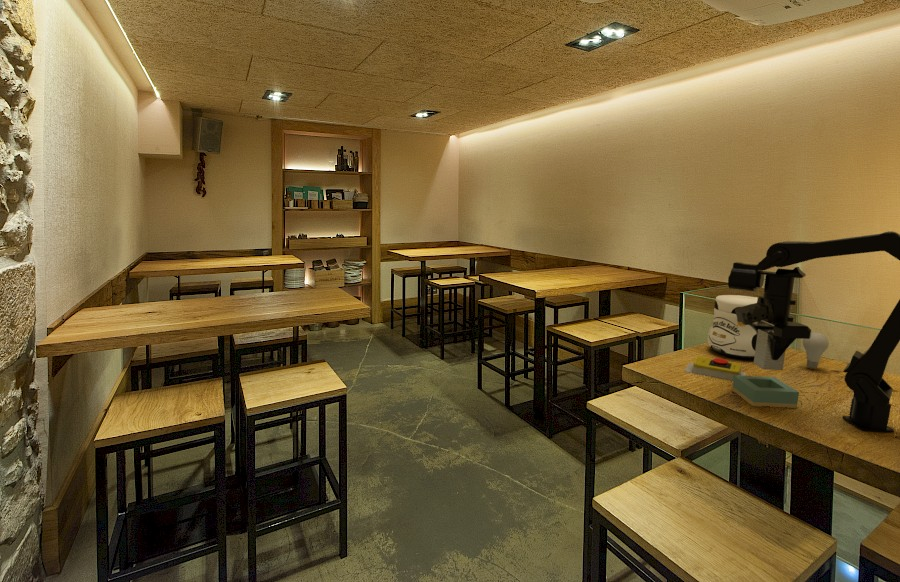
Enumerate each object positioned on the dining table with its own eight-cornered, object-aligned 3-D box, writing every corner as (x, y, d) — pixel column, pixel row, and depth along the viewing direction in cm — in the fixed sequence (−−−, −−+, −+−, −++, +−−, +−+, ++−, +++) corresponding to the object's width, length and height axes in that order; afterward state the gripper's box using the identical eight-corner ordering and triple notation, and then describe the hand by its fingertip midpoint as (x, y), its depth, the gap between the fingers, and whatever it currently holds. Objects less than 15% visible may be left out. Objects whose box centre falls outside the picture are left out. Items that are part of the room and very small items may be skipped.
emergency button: (745, 369, 129) (684, 358, 138) (743, 384, 130) (683, 373, 138) (748, 360, 137) (690, 350, 145) (746, 375, 137) (688, 364, 146)
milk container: (701, 354, 154) (708, 300, 151) (711, 342, 168) (717, 292, 164) (765, 366, 144) (773, 307, 140) (770, 352, 157) (778, 298, 154)
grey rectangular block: (782, 370, 116) (787, 334, 114) (763, 369, 116) (768, 333, 114) (772, 364, 120) (776, 329, 118) (753, 363, 120) (758, 328, 119)
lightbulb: (828, 373, 138) (835, 336, 136) (805, 371, 140) (810, 335, 138) (817, 366, 144) (823, 330, 142) (794, 364, 146) (800, 329, 144)
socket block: (796, 408, 114) (799, 392, 114) (752, 406, 115) (754, 390, 114) (772, 391, 124) (774, 377, 123) (732, 390, 125) (734, 375, 124)
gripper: (723, 286, 125) (717, 344, 127) (764, 301, 106) (755, 368, 109) (768, 287, 124) (761, 346, 126) (817, 302, 105) (807, 370, 108)
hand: (769, 356), depth 118 cm, fingers closed on grey rectangular block, 4 cm apart
